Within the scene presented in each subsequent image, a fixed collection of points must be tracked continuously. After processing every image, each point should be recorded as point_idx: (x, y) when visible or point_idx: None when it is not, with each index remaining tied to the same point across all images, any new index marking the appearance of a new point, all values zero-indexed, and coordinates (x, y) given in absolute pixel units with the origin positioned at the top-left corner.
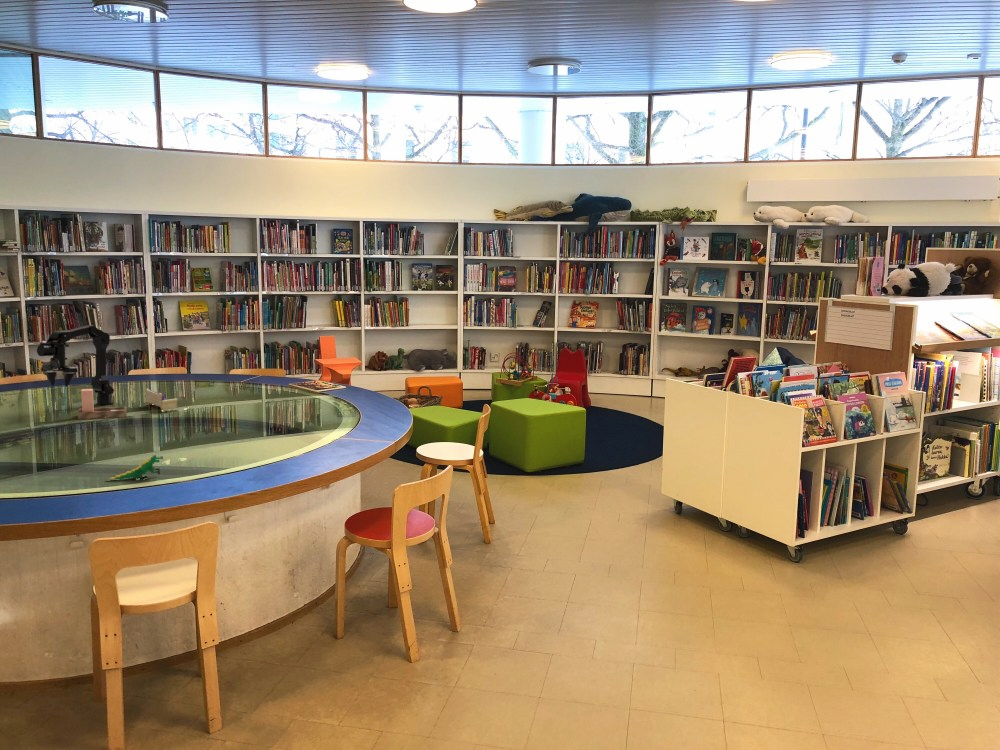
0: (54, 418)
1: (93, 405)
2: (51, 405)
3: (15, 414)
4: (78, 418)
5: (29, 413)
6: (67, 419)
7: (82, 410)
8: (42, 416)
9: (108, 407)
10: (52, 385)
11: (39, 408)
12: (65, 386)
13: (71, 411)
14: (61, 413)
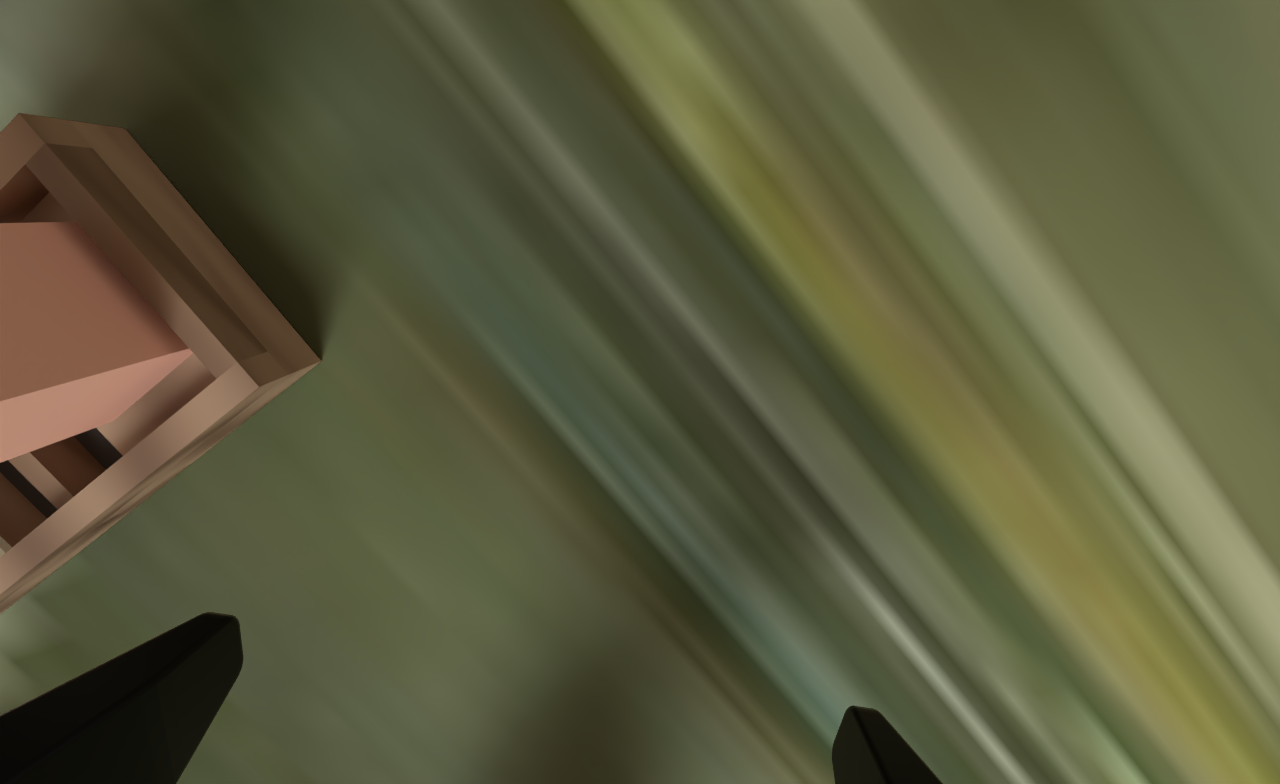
0: (455, 58)
1: (11, 452)
2: (1052, 740)
3: (1215, 86)
4: (108, 127)
5: (1037, 234)
6: (246, 71)
7: (30, 226)
8: (714, 117)
9: (8, 579)
10: (847, 716)
11: (1097, 560)
12: (235, 617)
13: (585, 528)
14: (612, 387)
